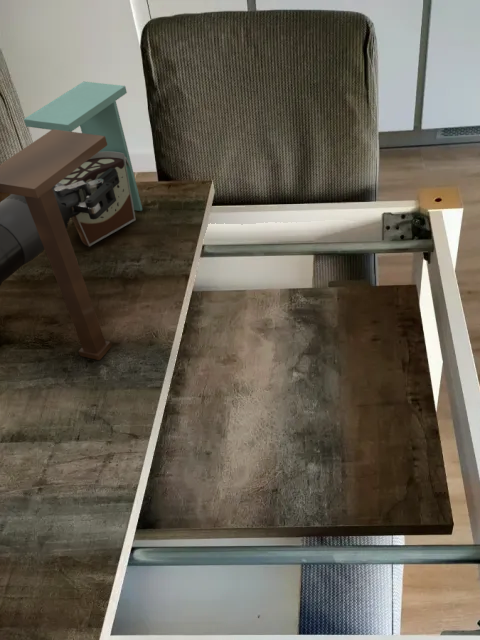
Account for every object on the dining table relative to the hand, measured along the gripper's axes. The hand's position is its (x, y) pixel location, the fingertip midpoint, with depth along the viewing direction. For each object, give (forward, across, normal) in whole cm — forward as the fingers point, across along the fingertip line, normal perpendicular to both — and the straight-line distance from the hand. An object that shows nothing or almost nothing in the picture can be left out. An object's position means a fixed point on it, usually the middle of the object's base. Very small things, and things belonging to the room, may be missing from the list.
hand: (93, 171), depth 96 cm
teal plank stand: (+1, 0, +8) cm, 8 cm away
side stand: (-23, -14, +8) cm, 28 cm away
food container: (-2, 0, +8) cm, 8 cm away
